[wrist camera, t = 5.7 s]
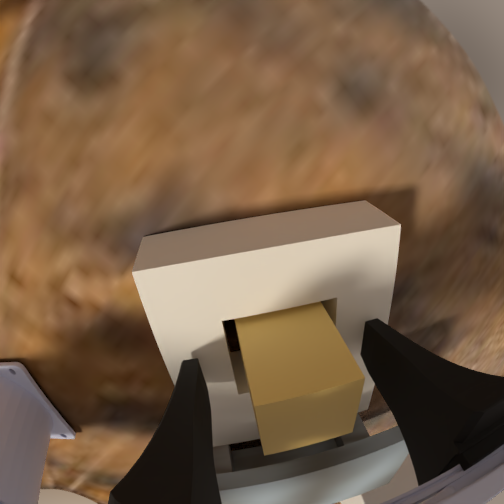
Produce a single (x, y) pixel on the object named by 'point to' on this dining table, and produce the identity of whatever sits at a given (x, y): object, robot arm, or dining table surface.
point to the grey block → (311, 469)
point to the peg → (298, 377)
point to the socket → (264, 290)
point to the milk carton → (389, 486)
